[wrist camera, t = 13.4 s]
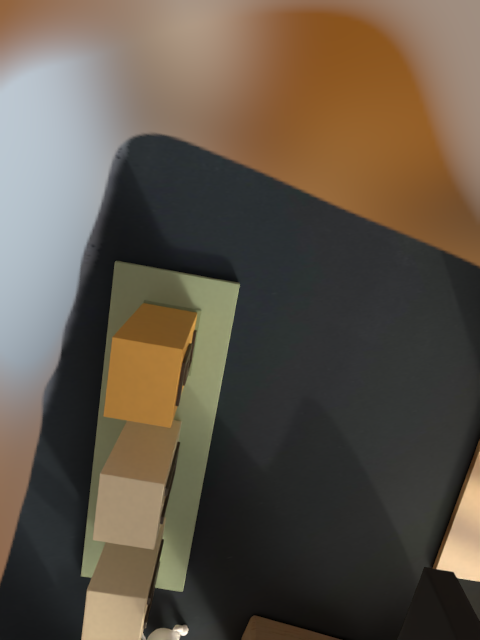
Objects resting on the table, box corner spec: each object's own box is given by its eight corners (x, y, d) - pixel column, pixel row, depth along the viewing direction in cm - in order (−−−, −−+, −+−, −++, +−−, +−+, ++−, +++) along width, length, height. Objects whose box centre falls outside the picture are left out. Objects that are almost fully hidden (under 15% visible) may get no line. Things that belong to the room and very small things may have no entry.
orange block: (142, 302, 33) (112, 336, 26) (200, 313, 33) (187, 349, 26) (134, 366, 35) (103, 416, 27) (189, 376, 35) (174, 428, 27)
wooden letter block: (118, 509, 38) (86, 589, 30) (168, 517, 38) (149, 599, 31) (112, 557, 40) (80, 646, 32) (160, 565, 40) (140, 655, 32)
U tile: (131, 412, 36) (99, 473, 28) (184, 421, 36) (167, 484, 28) (123, 467, 37) (92, 540, 29) (175, 476, 37) (157, 550, 30)
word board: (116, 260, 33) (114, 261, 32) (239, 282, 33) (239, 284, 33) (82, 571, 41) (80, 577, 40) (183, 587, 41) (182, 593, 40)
